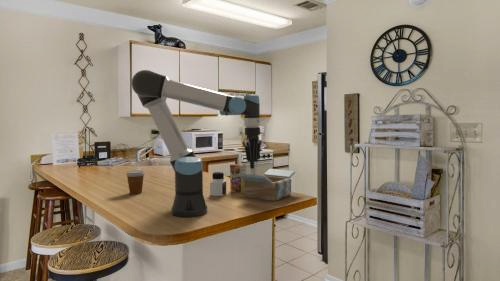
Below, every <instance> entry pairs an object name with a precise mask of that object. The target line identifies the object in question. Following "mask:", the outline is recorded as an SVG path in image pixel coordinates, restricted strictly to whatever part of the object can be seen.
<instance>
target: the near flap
mask: <svg viewBox="0 0 500 281" xmlns="http://www.w3.org/2000/svg"><path fill="white" fill-rule="evenodd" d="M238 176H240V177H241V178H243V179H244V180H247V181H255V182H263V183H272V182H273V181H272V180H270V179H269V178H268V177H266V176H264V175H263V176H261V175H251V173H250V174H249V173H246V174H240V173H239V175H238Z"/></svg>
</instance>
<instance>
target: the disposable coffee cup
mask: <svg viewBox="0 0 500 281" xmlns="http://www.w3.org/2000/svg"><path fill="white" fill-rule="evenodd" d="M125 175H126V177H127V184H128V190H129V191H128V192H129V194H130V195H139V194H142V193H143V186H144V176H145V171H144V170H139V169H138V170H128V171H126V174H125Z"/></svg>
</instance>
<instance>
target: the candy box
mask: <svg viewBox="0 0 500 281" xmlns="http://www.w3.org/2000/svg"><path fill="white" fill-rule="evenodd" d="M246 166H247V165H244V164H236V163H232V164H229V180H230V182H229V183H230V186H229V188H230V189H229V190H230V192H234V193H237V194H245V180H244V179H243V178H241V177H240V176H238V175H239V173H240V174H247V173H246V172H247V170H246V168H247V167H246Z"/></svg>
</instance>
